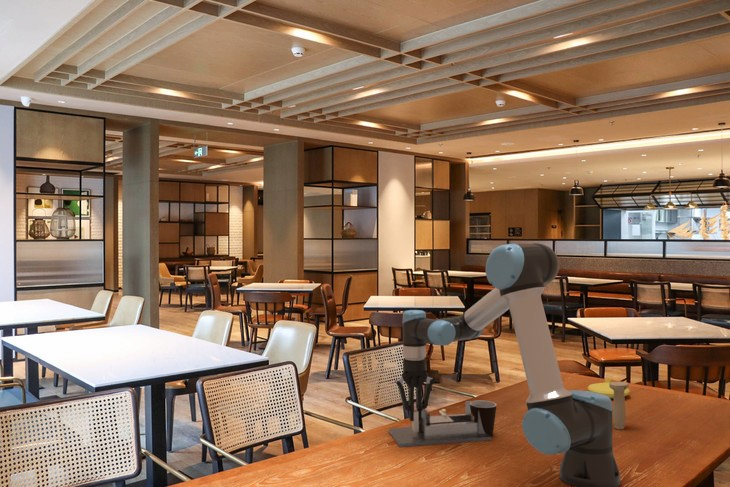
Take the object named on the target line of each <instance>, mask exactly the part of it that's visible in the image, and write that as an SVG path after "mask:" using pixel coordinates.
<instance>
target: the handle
mask: <svg viewBox="0 0 730 487" xmlns="http://www.w3.org/2000/svg"><path fill="white" fill-rule="evenodd" d="M611 382H612V383H610V384H609V387H610V388H611V389H613V390H614V398H613V401H612V410H613V412H612V421H613V423H614V424H613V426H614V427H613V428H615V430H624V429H625V426H626V425H625V424H626V417H627V414H626V413H627V412H626V401H625V400H626V398H625V397H626V396H624V391H625V390H626V389H627V388H628V389H629V382H625V381H611Z"/></svg>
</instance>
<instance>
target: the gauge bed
mask: <svg viewBox="0 0 730 487" xmlns="http://www.w3.org/2000/svg"><path fill="white" fill-rule="evenodd" d="M472 401H473V400H466V401H465V404H464V405H465V413H458V414H455V413H454V414H446V415H447V416H448V417H449V418H451V419H452V420H453V421H454V423H445V424H431V425H424V432H423V431H422V430H421V421H419V432H414V431H413V430H412V426H404V427H391V428H390V427H389V428H388V433H389V435H391V437H392V439H394V441H395V443H396V444H397V445H398V447H399V448H408V447H419V446H431V445H433V446H435V445H443V444H444V445H446V444H457V443H459V444H460V443H471V442H483V441H484V442H485V441H492V437H491V436H490V435H487V434H486V433H485V432H484V429H483V427H482V422H481V418H480V413H479V411H478V421H477V422H474V421H473V422H472V418H471V409H470V402H472ZM473 406H476V407H482V406H480V405H473ZM442 416H443V415H442V414H441V415H430V417H442Z"/></svg>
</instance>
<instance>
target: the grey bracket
mask: <svg viewBox="0 0 730 487" xmlns="http://www.w3.org/2000/svg"><path fill="white" fill-rule="evenodd" d="M439 413H440V414H441V415H443V416H442V417H430V416H431V414H430V412H429V411H428V410H427V409H423V410H422V411H421V430H422V431H423V432H424V425H431V424H445V423H454V421H453V420H452V419H451V418H449V417H448V416H447V415H448V414H447V413H446V414H445V413H444V412H443V411H442V409H441V410H439Z"/></svg>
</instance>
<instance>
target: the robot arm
mask: <svg viewBox="0 0 730 487" xmlns="http://www.w3.org/2000/svg"><path fill="white" fill-rule="evenodd" d="M559 271H560V262H559V256H558V255H557V254H556V252H555V251H554V250H553V249H552V248H551V247H549V246H547V245H546V244H544V243H538V242H537V243H536V242H535V243H532V242H531V243H515V242H514V243H507V244H501V245H498V246H497V247H495V248H493V250H492V251H491V252H490V254H489V256H488V257H487V260H486V262H485V275H486V278H487V281H488V283H489V284H490V285H492V287H493V289H492V290H491V291H490V292H488V293H486V295H484V296H482V297H481V299H479V300H478V301H477V302H476V303H474V304H472V306H471V307H470V308H468V309H467V310H465V312H463V313H462V314H461V315H459V316H452V317H446V318H437V319H434V318H427V316H426V312H425V311H424V310H421V309H420V310H419V309H409V310H405V311H403V313H402V323H401V325H402V357H403V358H402V374H401V377H400V378H398V379H395V380H394V383H395V384H396V386H397V388H398V392H399V395H400V398H401V399H400V400H401V403H402V408H403V409H405V411H408V419H409V421H410V422H411V427H412V430H413V431H414V432H419V421H421V411H422V410H423V409H425V410H427V408H428V404H429V400H430V395H431V390H432V387H433V385H434V384H435V379H433V377H430V376H429V375H428V372H427V359H426V357H427V344H428V343H429V344H432V345H437V346H449V345H450V344H451V343H453V342H457V341H464V340H473V339H475V338H479V337H480V336H481V335H482V334H483V331H484V329H485V327H487V326H488V325H490V324H491V323H492V322H493V321H495V320H496V319H498V318H499V317H501V316H502V315H503V314H505V313H506V312H507V311H508V310H509V312H510V317H511V320H512V324H513V327H514V328H513V329H514V332H515V336H516V340H517V341H516V342H517V345H518V348H519V350H518V351H519V353H520V357H521V362H522V365H523V369H524V370H523V371H524V374H525V378H526V382H527V385H528V391H529V395H528V397H527V399H526V401H525V403H526V407H527V411H526V412H525V413H524V416H523V419H522V422H521V425H522V432H523V435H524V437H525V439H526V441H527V442H528V443H529V444H530V446H532V447H533V448H535V450H536V451H537V452H539V453H541V454H544V455H547V456H553V455H557V454H563V457H562V461H561V463H560V466H559V478H560V480H561V481H562V482H564V483H565V484H567V485H569V486H572V487H619V486H620V485H621V473H620V471H619V467H618V465H617V461H616V459H615V455H614V453H613V449H614V448H613V401H612V398H609V397H608V396H606V395H603V394H599V393H595V392H589V391H587V390H575V389H573V390H572V389H569V390H568V389H566V388H565V387H564V382H563V379H562V374H561V371H560V366H559V363H558V358H557V355H556V352H555V347H554V344H553V343H554V342H553V340H552V336H551V332H550V327H549V325H548V324H549V323H548V321H547V317H546V313H545V309H544V304H543V301H542V294H543V293H544V291H545V290H546V289H545V288H546V287H547V286H548V285H550V283H552V282H553V281H554V280H555V279H556V277H557V275H558V273H559ZM404 382H405V383H404ZM404 384H406V385H407V389H408V390H407V391H408V400H407V395H406V392H405V388H404ZM424 384H425V386H424V391H423V385H424ZM422 391H423V392H422ZM422 393H423V396H422ZM415 408H416V409H415Z"/></svg>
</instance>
